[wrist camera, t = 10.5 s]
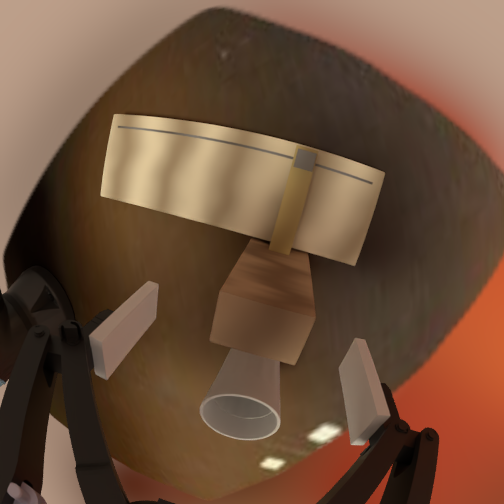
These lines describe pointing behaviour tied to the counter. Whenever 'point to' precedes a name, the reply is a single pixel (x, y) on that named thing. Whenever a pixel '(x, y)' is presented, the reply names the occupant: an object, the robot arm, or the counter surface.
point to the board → (238, 182)
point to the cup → (244, 397)
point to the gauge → (271, 283)
